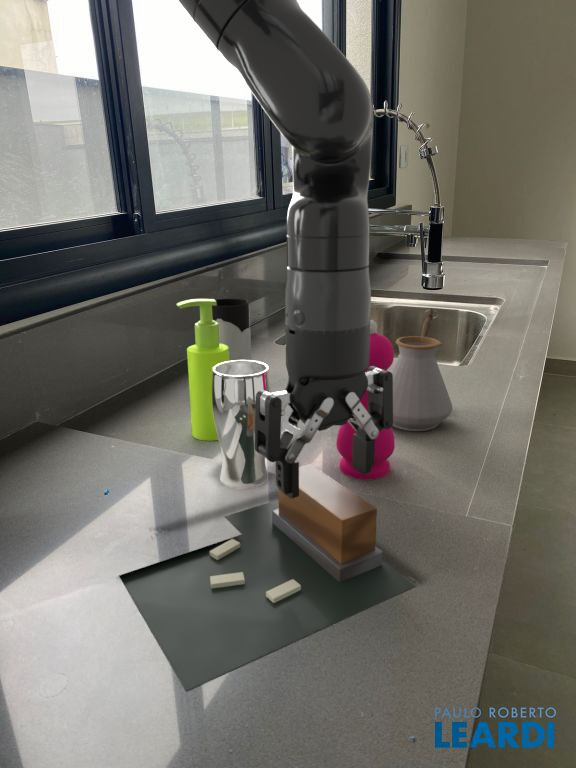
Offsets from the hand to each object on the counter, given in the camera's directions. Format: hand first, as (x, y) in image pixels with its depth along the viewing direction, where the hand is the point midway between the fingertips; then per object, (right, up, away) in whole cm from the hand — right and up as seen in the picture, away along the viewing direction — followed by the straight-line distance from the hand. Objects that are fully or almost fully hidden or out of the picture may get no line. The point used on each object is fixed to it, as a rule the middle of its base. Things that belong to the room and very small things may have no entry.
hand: (326, 482), depth 58 cm
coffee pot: (+17, +5, +39) cm, 43 cm away
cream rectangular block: (-10, -7, +1) cm, 12 cm away
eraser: (0, -6, +2) cm, 7 cm away
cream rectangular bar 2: (-9, -8, -4) cm, 13 cm away
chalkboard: (-7, -9, -2) cm, 11 cm away
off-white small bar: (-4, -9, -5) cm, 11 cm away
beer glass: (-9, -3, +16) cm, 19 cm away
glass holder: (-14, +11, +57) cm, 60 cm away
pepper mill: (+6, -2, +18) cm, 19 cm away
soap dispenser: (-16, +2, +31) cm, 35 cm away
